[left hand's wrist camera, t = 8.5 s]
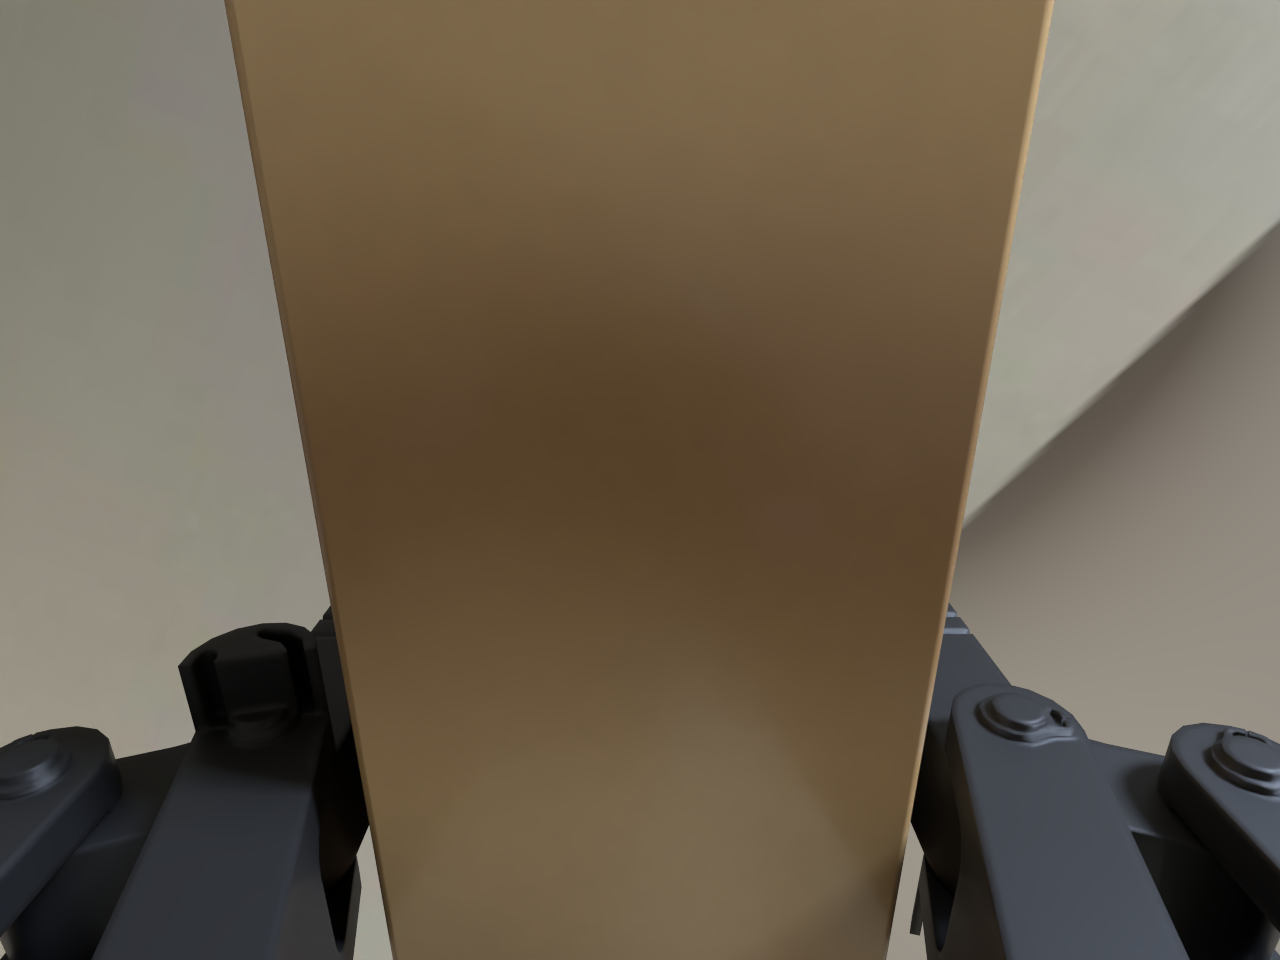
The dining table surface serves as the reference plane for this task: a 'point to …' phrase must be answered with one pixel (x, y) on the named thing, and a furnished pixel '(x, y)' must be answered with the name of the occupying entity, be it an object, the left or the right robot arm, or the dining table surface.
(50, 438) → the dining table surface
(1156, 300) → the dining table surface
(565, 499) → the bar
